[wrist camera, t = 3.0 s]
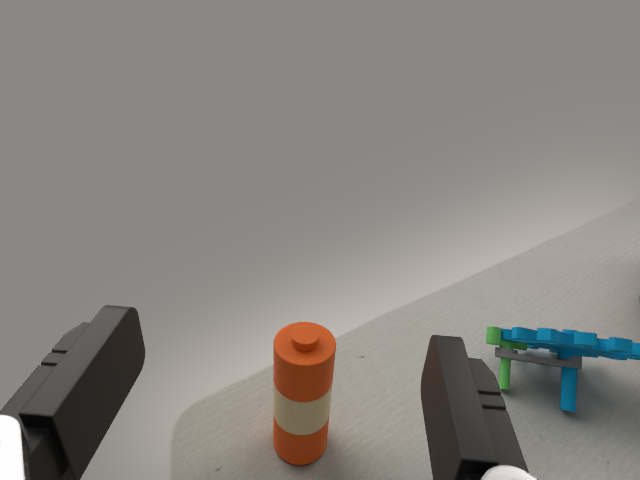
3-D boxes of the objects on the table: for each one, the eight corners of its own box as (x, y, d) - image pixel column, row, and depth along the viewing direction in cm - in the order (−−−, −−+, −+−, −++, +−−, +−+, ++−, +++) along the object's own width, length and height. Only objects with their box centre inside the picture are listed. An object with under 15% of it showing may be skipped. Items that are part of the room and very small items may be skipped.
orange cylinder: (271, 464, 29) (270, 356, 24) (275, 417, 32) (276, 312, 27) (326, 466, 29) (337, 358, 24) (326, 419, 32) (335, 315, 27)
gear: (622, 345, 38) (675, 333, 29) (622, 419, 36) (679, 431, 27) (484, 326, 41) (491, 311, 32) (479, 393, 40) (485, 396, 31)
